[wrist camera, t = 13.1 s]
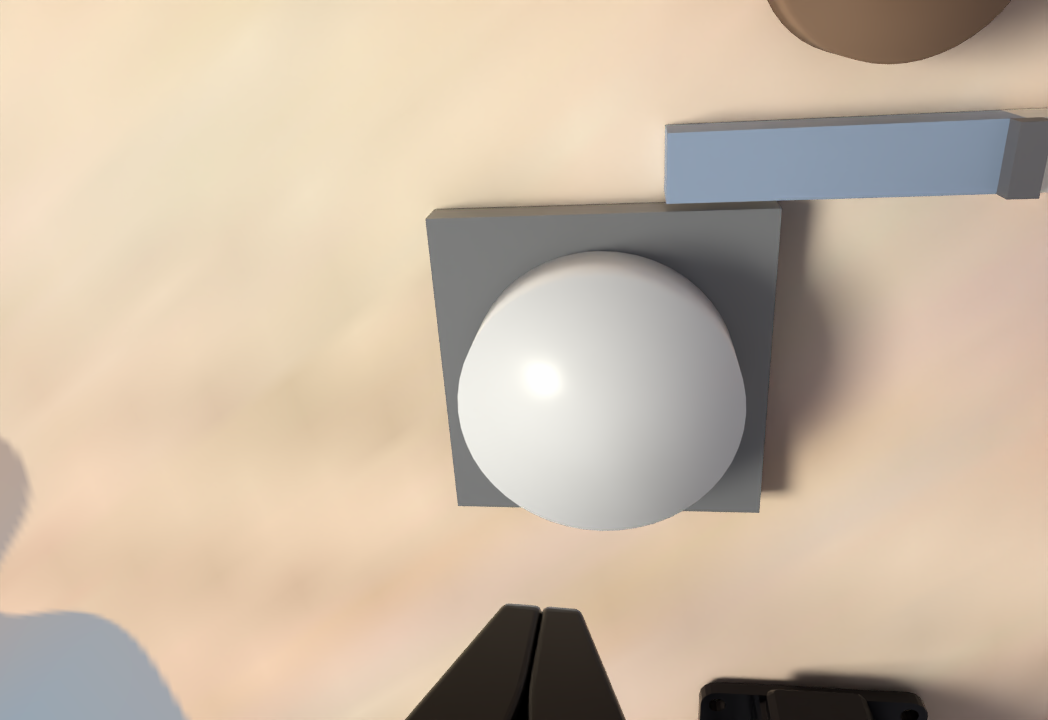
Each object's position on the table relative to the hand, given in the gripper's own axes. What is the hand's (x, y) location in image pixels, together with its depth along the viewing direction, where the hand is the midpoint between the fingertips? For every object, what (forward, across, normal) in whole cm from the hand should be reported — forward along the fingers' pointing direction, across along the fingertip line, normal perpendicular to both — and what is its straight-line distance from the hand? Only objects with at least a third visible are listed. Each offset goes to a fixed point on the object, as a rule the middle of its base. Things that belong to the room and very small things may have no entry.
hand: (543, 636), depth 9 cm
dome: (+11, 0, +2) cm, 12 cm away
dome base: (+12, 0, +2) cm, 12 cm away
